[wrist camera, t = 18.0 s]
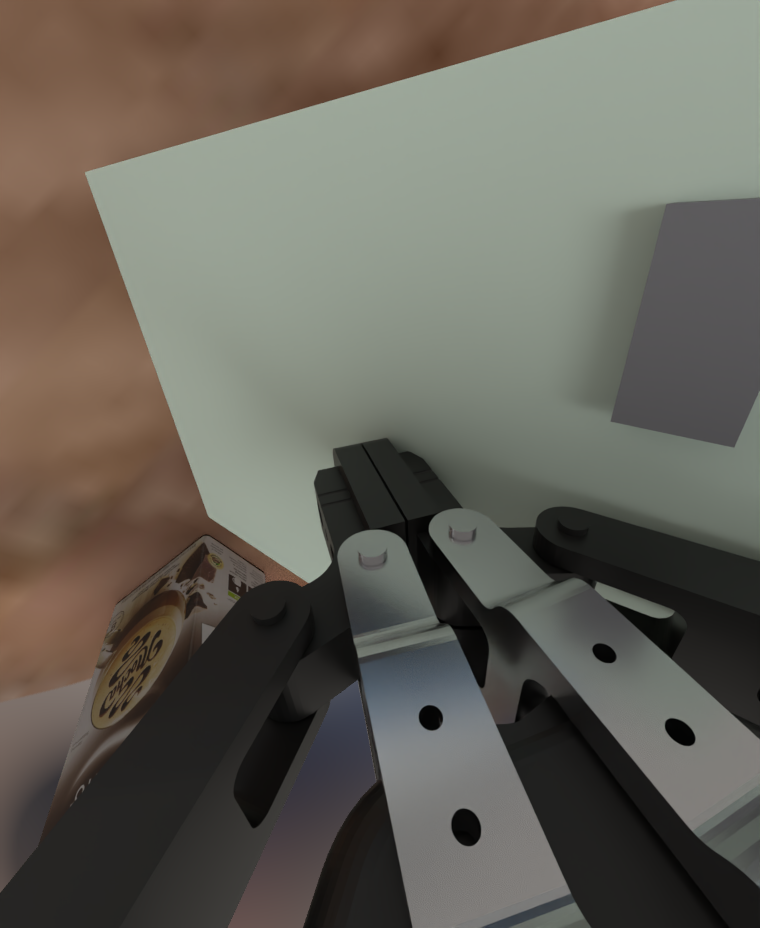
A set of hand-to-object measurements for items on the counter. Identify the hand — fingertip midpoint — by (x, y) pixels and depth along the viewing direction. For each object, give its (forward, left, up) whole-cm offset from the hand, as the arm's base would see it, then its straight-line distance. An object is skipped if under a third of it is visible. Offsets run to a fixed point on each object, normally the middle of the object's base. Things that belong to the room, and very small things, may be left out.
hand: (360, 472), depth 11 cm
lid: (0, 0, -3) cm, 3 cm away
